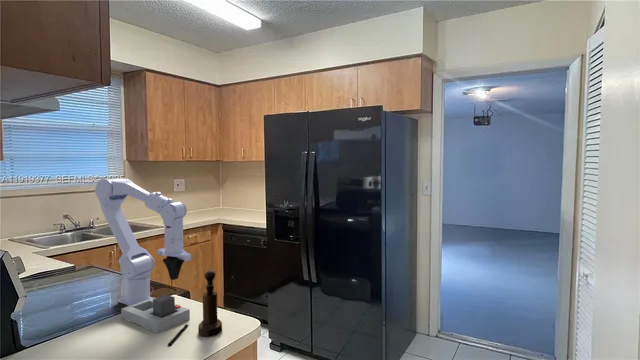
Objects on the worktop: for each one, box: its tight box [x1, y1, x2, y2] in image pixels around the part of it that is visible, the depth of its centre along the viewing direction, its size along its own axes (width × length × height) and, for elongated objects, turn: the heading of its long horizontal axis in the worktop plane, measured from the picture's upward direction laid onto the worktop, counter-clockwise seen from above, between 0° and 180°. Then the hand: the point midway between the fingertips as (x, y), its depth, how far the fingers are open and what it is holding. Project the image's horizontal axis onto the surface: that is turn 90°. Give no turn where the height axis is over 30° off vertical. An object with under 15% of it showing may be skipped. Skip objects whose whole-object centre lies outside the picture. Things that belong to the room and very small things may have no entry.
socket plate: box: [120, 297, 191, 333], centre depth 110 cm, size 18×11×4 cm, turn 59°
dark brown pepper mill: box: [197, 268, 223, 338], centre depth 101 cm, size 7×6×18 cm
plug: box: [153, 294, 176, 318], centre depth 107 cm, size 4×4×7 cm
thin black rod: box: [167, 323, 189, 347], centre depth 100 cm, size 12×1×1 cm, turn 178°
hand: (174, 278), depth 119 cm, fingers closed
